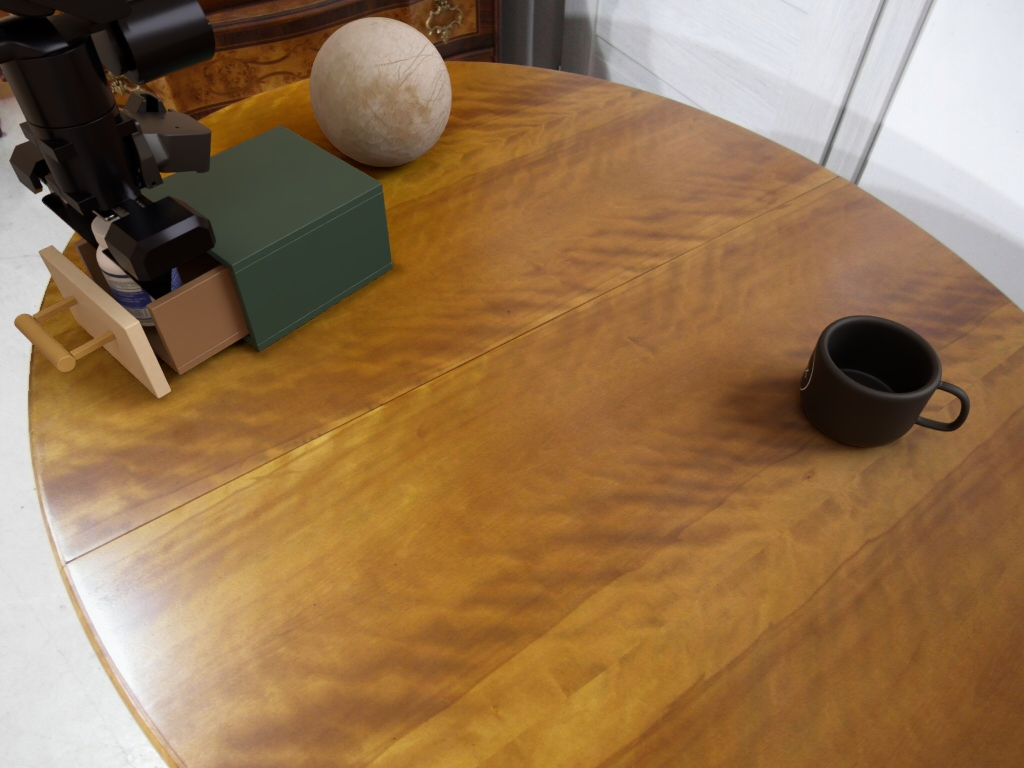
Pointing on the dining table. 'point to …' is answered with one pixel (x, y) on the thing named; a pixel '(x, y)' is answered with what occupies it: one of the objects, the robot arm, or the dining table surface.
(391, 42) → the decorative sphere
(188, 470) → the dining table surface
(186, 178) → the cabinet
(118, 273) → the pill bottle
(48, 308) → the drawer
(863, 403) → the mug
